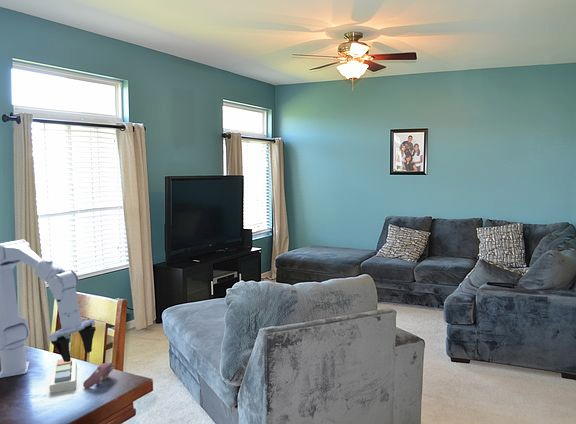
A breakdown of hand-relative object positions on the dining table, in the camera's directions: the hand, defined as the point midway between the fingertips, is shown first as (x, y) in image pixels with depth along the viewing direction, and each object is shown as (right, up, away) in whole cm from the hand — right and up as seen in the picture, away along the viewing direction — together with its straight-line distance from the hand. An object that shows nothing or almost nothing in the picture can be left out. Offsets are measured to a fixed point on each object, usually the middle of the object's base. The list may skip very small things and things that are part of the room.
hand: (78, 356), depth 147 cm
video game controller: (+4, -10, +6) cm, 13 cm away
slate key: (-6, -9, +4) cm, 11 cm away
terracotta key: (-11, -8, +14) cm, 19 cm away
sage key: (-8, -8, +9) cm, 15 cm away
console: (-8, -10, +9) cm, 16 cm away
